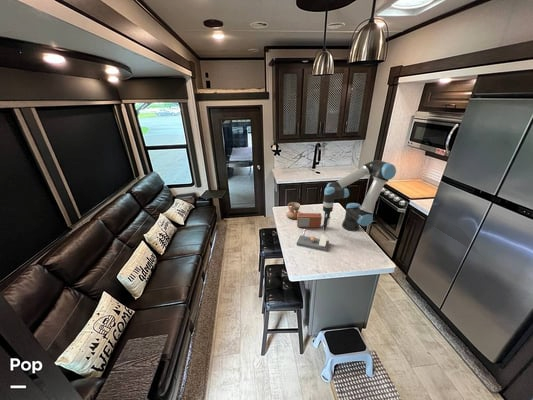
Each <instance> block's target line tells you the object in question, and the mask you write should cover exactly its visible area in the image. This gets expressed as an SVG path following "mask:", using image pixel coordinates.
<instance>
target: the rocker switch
mask: <svg viewBox="0 0 533 400" xmlns="http://www.w3.org/2000/svg"><path fill="white" fill-rule="evenodd" d="M319 239H320V242H319V246H322V247H325V246H326V241H328V235H327V234H320V238H319Z"/></svg>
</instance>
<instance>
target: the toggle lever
mask: <svg viewBox="0 0 533 400" xmlns="http://www.w3.org/2000/svg"><path fill="white" fill-rule="evenodd" d="M302 231H303V233H302V236H303V239H304V236H306V235H305V233H306V232H307V229H306V228H304V229H303V230H302Z"/></svg>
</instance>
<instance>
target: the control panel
mask: <svg viewBox="0 0 533 400" xmlns="http://www.w3.org/2000/svg"><path fill="white" fill-rule="evenodd" d="M322 218H323V217H322V213H320V212H314V213H312V212H310V213H309V212H300V213H297V219H296V227H297V228H321V226H322V225H321V224H322Z"/></svg>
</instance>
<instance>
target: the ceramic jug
mask: <svg viewBox="0 0 533 400" xmlns="http://www.w3.org/2000/svg"><path fill="white" fill-rule="evenodd" d="M300 207H301V204H300V203H298V202H293V201H292V202H289V203H288V204H287V208H288V211H287V213H286V217H287V218H288V219H291V220H297V213H301V211H299V210H300Z"/></svg>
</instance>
